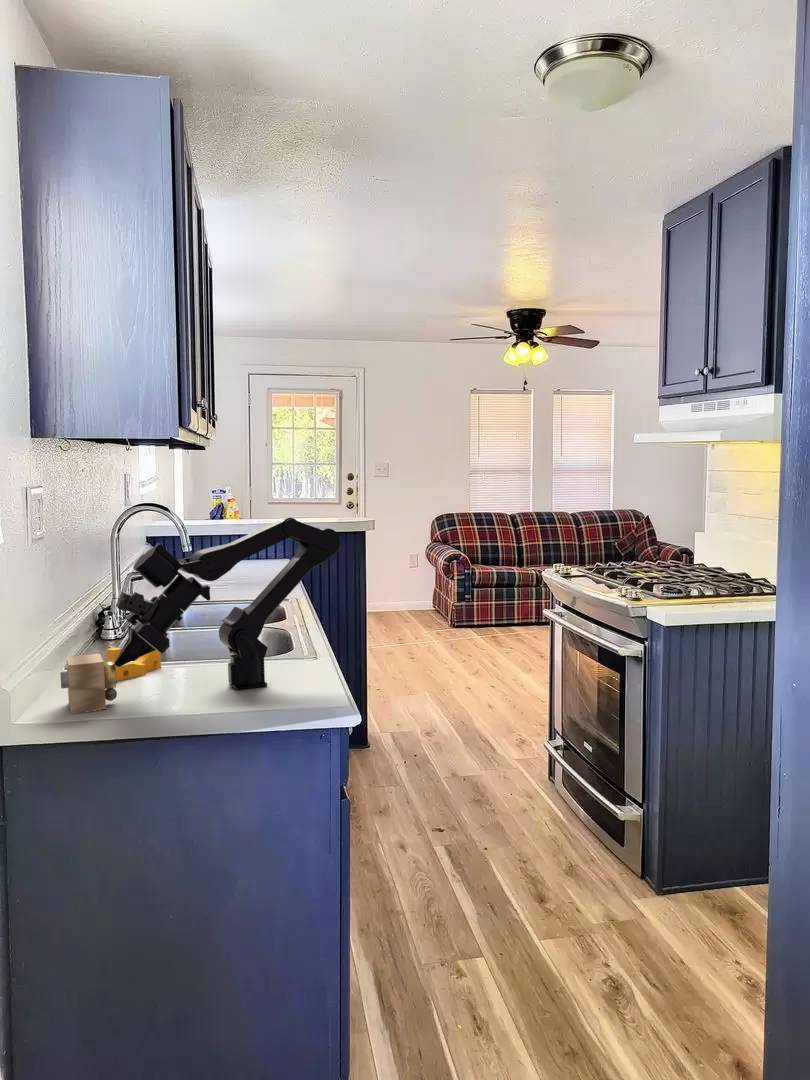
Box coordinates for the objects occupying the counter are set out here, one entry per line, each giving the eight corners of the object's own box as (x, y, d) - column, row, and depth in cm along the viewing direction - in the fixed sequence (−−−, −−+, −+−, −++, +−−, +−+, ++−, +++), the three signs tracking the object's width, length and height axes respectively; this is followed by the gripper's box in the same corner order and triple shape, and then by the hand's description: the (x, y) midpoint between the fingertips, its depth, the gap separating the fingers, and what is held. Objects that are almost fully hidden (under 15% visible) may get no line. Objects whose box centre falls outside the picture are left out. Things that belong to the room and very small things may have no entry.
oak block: (102, 699, 162) (99, 653, 161) (105, 709, 155) (103, 661, 154) (68, 703, 159) (66, 656, 159) (71, 714, 152) (68, 665, 151)
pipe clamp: (120, 681, 177) (119, 651, 176) (107, 678, 179) (106, 649, 179) (166, 669, 187) (165, 641, 186) (153, 667, 189) (152, 639, 189)
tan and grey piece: (115, 696, 161) (113, 658, 161) (118, 702, 157) (116, 664, 156) (61, 703, 157) (59, 664, 157) (62, 709, 153) (60, 669, 152)
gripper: (134, 571, 168) (79, 630, 164) (148, 581, 151) (86, 647, 147) (176, 606, 172) (123, 665, 168) (194, 620, 155) (134, 686, 151)
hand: (116, 665), depth 159 cm, fingers closed
